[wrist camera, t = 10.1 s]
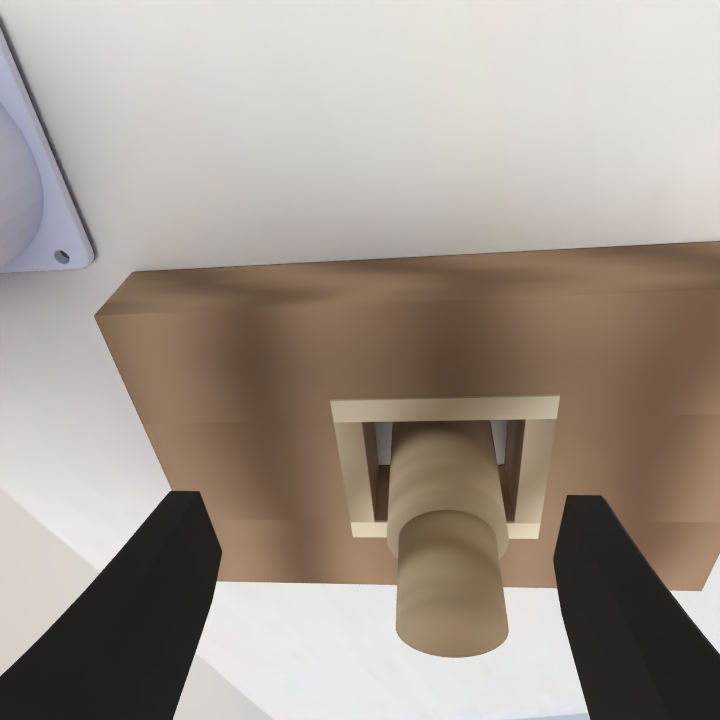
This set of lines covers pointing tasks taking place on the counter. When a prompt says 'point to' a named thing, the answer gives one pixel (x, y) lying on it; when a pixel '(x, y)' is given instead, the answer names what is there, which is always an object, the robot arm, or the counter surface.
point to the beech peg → (447, 537)
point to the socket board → (433, 398)
